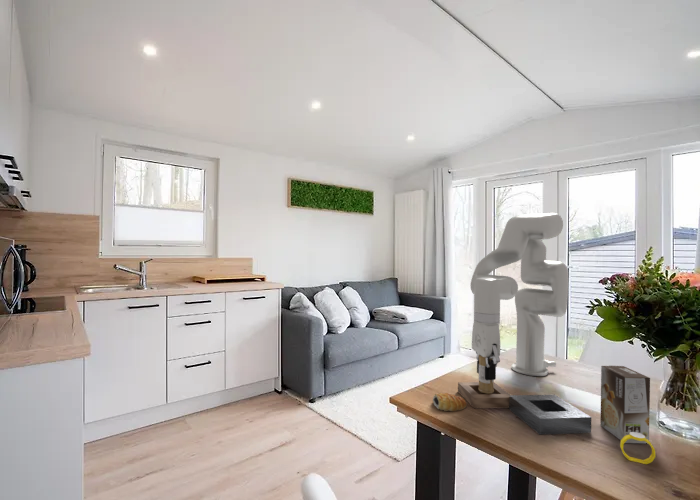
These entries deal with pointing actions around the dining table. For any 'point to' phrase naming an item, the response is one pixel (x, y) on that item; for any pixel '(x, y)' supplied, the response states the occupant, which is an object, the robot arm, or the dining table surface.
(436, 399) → the pastry
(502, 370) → the dining table surface
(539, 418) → the block
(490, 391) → the sprinkles bottle
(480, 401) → the holder ring
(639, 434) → the watch
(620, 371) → the coffee box
